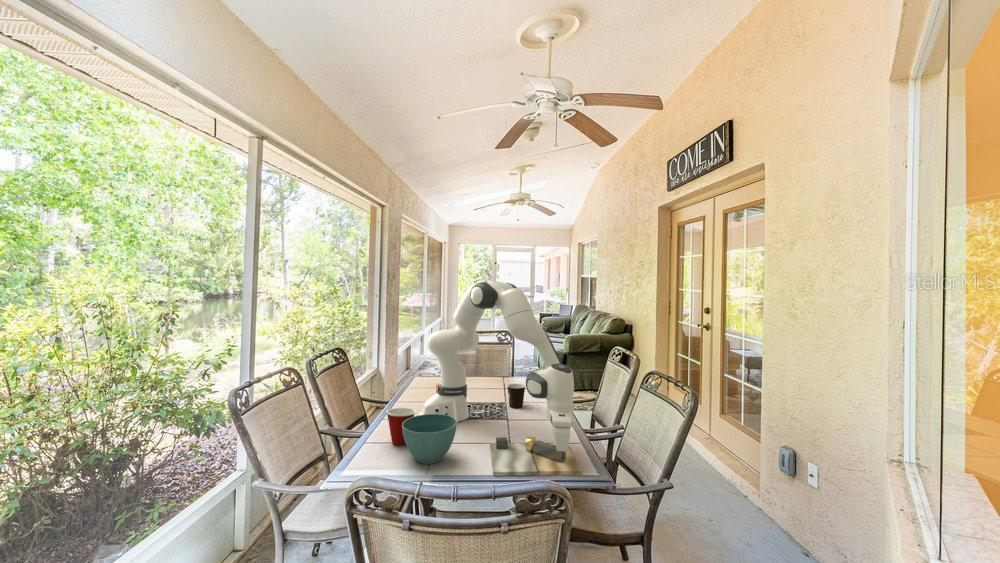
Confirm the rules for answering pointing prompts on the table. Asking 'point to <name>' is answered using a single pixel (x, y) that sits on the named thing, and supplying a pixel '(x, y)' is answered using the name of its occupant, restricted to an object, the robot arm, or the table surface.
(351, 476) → the table surface
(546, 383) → the robot arm
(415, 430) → the plant pot
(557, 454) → the latch bar
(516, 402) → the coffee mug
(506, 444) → the block
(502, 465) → the door board
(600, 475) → the table surface
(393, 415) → the plastic cup
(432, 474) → the table surface
